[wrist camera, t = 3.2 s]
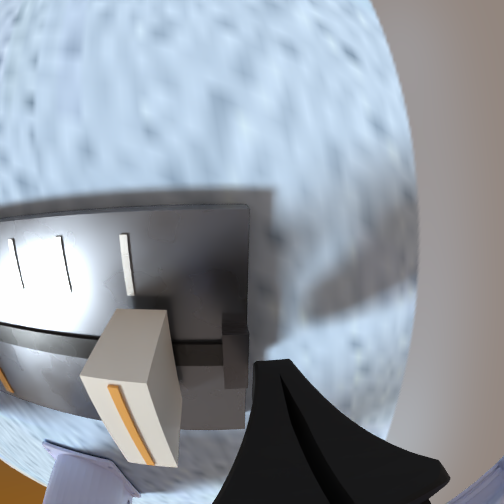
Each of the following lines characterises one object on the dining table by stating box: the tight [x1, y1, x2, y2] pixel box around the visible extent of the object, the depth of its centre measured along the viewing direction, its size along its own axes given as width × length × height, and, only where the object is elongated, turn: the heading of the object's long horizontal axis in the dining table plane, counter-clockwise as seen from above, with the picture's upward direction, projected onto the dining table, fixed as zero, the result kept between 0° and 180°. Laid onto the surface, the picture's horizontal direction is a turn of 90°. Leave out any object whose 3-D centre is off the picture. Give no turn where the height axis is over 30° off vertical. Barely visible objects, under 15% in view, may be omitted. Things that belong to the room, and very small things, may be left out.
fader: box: [80, 309, 182, 468], centre depth 8 cm, size 5×2×4 cm, turn 179°
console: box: [0, 204, 249, 430], centre depth 10 cm, size 12×24×2 cm, turn 89°
